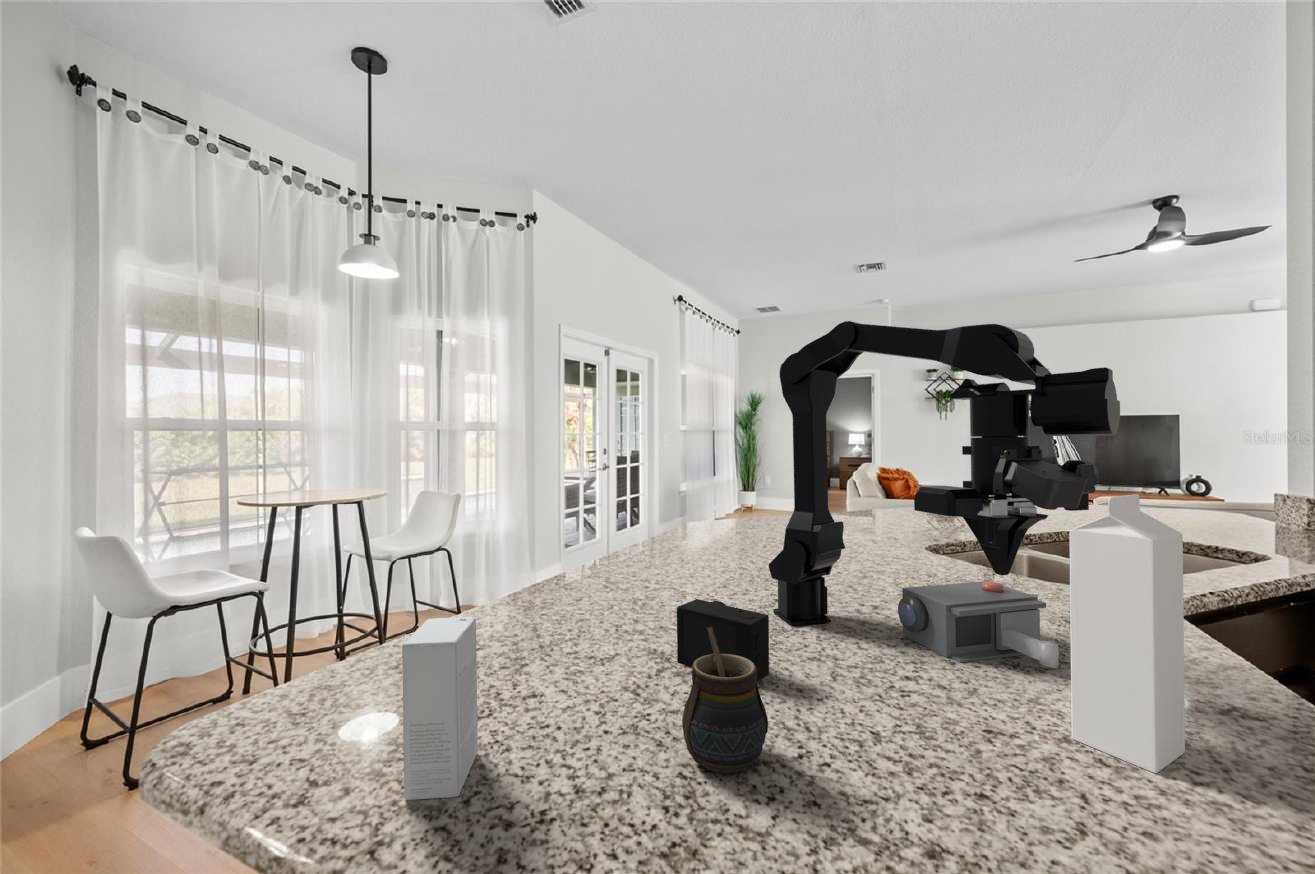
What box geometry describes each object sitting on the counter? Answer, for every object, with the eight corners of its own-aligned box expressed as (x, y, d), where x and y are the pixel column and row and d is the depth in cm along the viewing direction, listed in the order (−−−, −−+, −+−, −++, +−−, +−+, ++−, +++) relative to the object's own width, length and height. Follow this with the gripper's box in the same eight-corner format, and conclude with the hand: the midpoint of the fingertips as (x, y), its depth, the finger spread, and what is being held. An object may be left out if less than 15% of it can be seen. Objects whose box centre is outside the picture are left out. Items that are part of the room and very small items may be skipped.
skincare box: (428, 756, 47) (427, 617, 47) (478, 753, 47) (478, 615, 47) (400, 803, 41) (400, 643, 41) (459, 799, 41) (458, 641, 41)
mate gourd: (707, 795, 41) (706, 665, 41) (666, 744, 48) (665, 632, 48) (785, 772, 44) (783, 649, 44) (735, 727, 51) (734, 621, 51)
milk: (1185, 754, 46) (1185, 497, 46) (1156, 775, 43) (1156, 501, 43) (1100, 721, 52) (1100, 491, 52) (1068, 738, 49) (1068, 494, 49)
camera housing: (945, 664, 65) (944, 603, 65) (892, 636, 74) (892, 582, 74) (1049, 651, 68) (1049, 594, 68) (987, 626, 78) (986, 575, 78)
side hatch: (1049, 671, 61) (1048, 631, 61) (996, 648, 68) (995, 611, 68) (1091, 666, 62) (1090, 626, 62) (1035, 643, 69) (1034, 607, 69)
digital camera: (775, 671, 63) (774, 611, 63) (752, 687, 59) (751, 623, 59) (702, 649, 70) (702, 595, 70) (677, 663, 66) (676, 605, 66)
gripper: (990, 436, 51) (992, 601, 51) (1140, 435, 56) (1143, 587, 56) (909, 438, 62) (911, 573, 62) (1040, 436, 67) (1043, 563, 66)
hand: (1001, 574), depth 61 cm, fingers closed
